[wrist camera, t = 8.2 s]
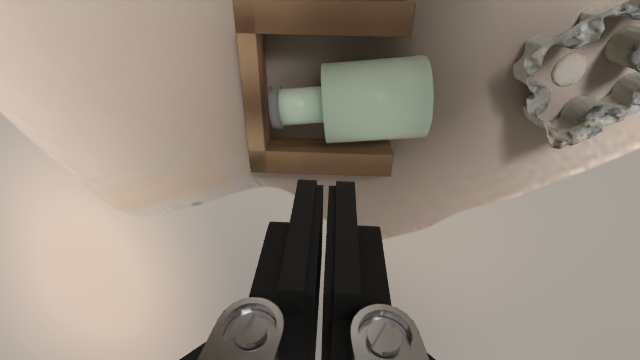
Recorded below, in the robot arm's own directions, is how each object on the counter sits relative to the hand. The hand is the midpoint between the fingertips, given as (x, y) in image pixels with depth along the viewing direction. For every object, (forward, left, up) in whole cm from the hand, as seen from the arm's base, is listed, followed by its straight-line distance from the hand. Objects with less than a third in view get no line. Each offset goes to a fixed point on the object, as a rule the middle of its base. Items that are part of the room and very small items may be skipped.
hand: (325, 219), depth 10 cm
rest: (+1, 0, -16) cm, 16 cm away
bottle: (0, +6, -14) cm, 15 cm away
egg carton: (-2, +18, -17) cm, 25 cm away
